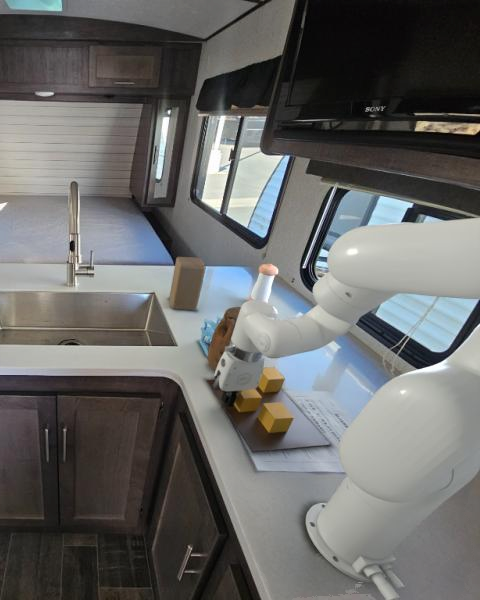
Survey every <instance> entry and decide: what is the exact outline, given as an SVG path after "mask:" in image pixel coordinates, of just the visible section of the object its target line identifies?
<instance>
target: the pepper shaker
mask: <svg viewBox="0 0 480 600" xmlns="http://www.w3.org/2000/svg"><path fill="white" fill-rule="evenodd" d="M278 274H279V268H278V267H277V266H275V265H273V264H272V263H263V264H261V265H259V267H258V277H257V280H256V282H255V284H254V286H253V288H252V291H251V294H250V295H249V296H248V300H247V301H250V300H259V301H263V302H266V303H269V297H270V295H271V292H272V285H273V281H274V278H275V276H277V275H278Z"/></svg>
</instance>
